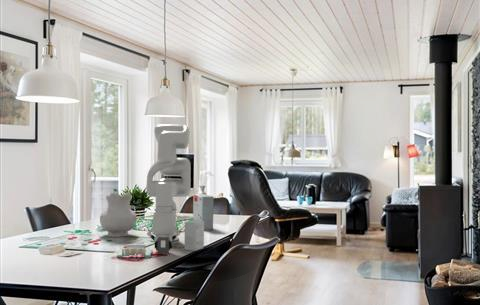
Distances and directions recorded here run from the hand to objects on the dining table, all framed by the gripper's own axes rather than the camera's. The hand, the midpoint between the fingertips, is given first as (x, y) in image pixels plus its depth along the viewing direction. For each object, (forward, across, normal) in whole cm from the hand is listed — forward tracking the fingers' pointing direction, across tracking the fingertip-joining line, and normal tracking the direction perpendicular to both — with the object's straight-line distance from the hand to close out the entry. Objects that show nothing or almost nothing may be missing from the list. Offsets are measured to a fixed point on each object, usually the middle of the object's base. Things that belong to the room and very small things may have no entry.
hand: (163, 249), depth 231 cm
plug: (+2, 0, 0) cm, 2 cm away
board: (+2, +12, +4) cm, 13 cm away
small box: (+2, -14, -10) cm, 17 cm away
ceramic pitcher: (+2, +27, -50) cm, 57 cm away
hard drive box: (+2, -20, -76) cm, 79 cm away
